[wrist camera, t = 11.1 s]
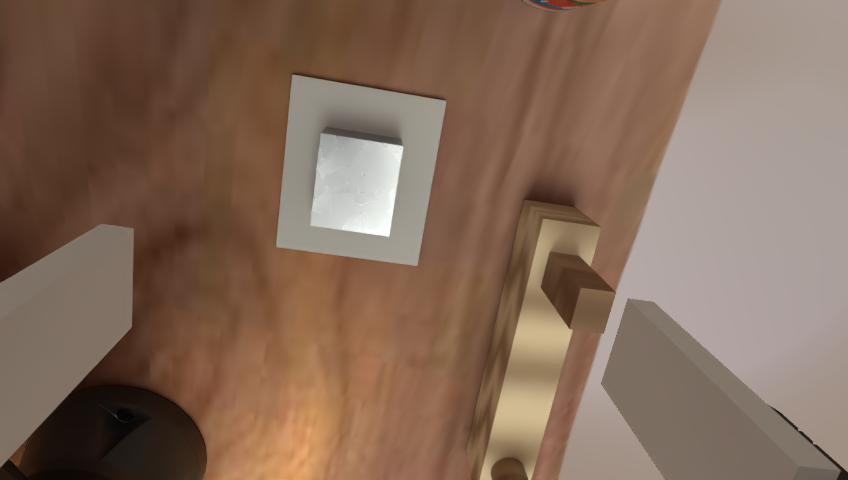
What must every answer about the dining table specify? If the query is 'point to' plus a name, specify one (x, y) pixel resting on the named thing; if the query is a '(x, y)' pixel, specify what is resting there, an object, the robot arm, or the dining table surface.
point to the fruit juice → (559, 4)
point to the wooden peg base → (535, 336)
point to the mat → (368, 114)
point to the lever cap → (356, 181)
